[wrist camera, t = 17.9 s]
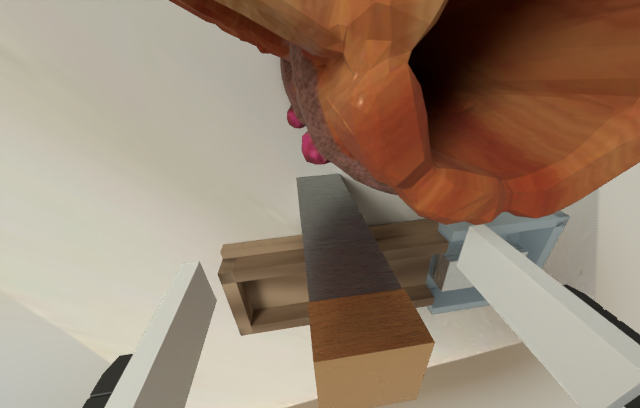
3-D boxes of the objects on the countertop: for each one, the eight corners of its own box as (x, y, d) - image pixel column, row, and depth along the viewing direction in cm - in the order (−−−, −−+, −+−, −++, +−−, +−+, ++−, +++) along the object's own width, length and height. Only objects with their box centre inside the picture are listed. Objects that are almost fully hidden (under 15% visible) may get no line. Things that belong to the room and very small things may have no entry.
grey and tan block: (295, 177, 19) (313, 362, 6) (339, 173, 19) (434, 342, 7) (299, 215, 20) (320, 417, 8) (339, 210, 21) (416, 398, 9)
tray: (434, 213, 22) (453, 231, 20) (538, 200, 23) (570, 216, 21) (417, 292, 28) (431, 314, 25) (502, 279, 28) (524, 299, 26)
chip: (434, 245, 24) (450, 261, 21) (471, 240, 24) (490, 256, 22) (428, 273, 25) (441, 291, 23) (462, 268, 26) (478, 286, 24)
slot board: (223, 244, 21) (214, 266, 18) (433, 218, 22) (451, 235, 20) (247, 315, 26) (242, 340, 23) (418, 289, 27) (431, 310, 25)
